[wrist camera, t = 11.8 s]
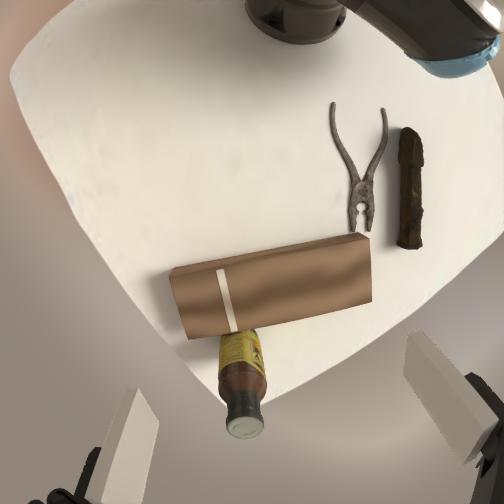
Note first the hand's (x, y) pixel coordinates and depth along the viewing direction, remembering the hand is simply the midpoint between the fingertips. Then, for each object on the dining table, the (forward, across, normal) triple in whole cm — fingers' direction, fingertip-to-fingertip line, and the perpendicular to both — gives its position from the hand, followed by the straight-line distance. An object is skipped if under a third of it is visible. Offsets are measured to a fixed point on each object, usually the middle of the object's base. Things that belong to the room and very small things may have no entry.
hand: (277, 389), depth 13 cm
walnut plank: (+31, +2, -8) cm, 32 cm away
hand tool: (+32, +25, +2) cm, 41 cm away
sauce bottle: (+30, -5, -17) cm, 35 cm away
